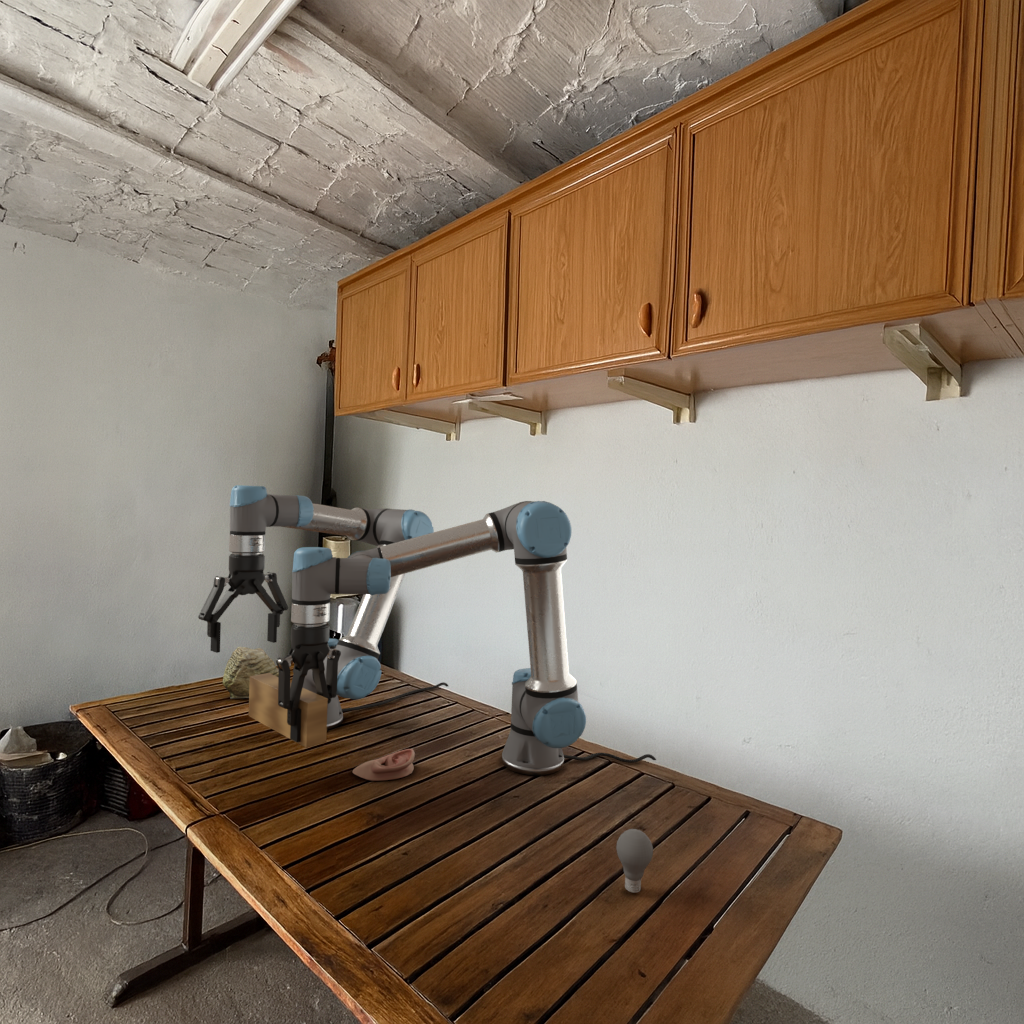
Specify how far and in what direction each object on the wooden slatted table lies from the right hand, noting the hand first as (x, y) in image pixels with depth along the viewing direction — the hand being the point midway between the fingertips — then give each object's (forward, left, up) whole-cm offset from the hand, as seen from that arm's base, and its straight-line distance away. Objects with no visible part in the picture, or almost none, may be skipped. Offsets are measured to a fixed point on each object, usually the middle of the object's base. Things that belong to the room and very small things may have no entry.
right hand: (307, 736), depth 129 cm
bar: (+3, -8, -1) cm, 9 cm away
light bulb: (-45, +50, -14) cm, 69 cm away
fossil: (+3, -78, -14) cm, 80 cm away
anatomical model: (-19, -10, -14) cm, 26 cm away
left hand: (+11, -22, +14) cm, 29 cm away
